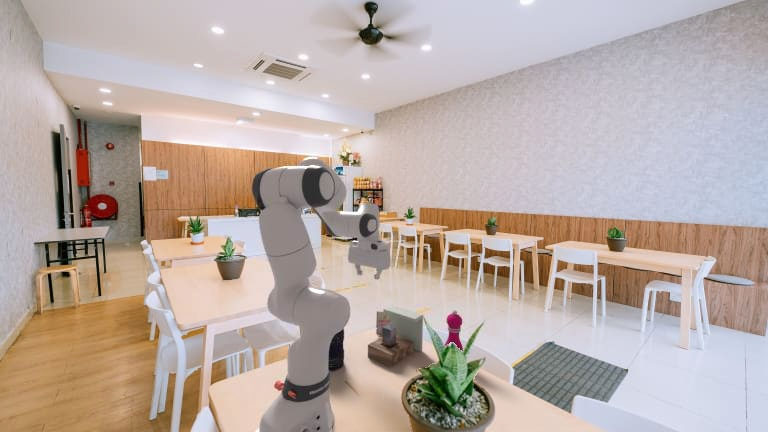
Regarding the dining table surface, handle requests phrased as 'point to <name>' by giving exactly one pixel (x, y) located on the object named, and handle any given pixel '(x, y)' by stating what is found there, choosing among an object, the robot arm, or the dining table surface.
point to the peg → (389, 336)
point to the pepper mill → (454, 329)
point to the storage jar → (336, 352)
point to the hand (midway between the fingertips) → (368, 276)
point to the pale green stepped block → (407, 325)
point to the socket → (390, 351)
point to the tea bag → (382, 321)
